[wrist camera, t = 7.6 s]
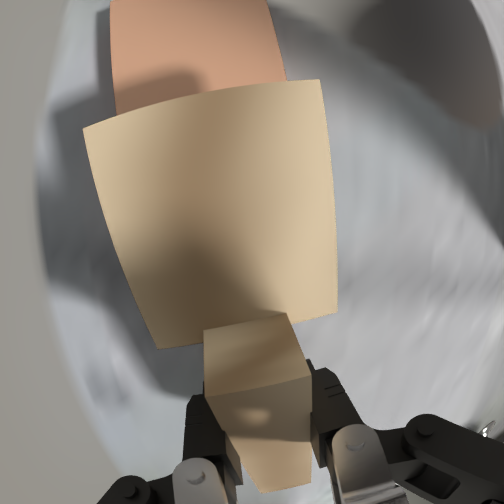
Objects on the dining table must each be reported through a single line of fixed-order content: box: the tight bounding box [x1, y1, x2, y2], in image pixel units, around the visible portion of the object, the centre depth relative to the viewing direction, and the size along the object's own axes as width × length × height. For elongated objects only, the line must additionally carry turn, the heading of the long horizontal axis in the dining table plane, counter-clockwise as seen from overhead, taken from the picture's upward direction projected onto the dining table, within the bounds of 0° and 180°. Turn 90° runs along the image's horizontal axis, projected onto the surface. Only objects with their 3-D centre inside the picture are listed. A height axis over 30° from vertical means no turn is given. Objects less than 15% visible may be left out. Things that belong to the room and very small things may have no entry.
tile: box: [110, 0, 287, 116], centre depth 10 cm, size 7×2×8 cm
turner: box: [83, 79, 338, 493], centre depth 8 cm, size 6×16×4 cm, turn 10°
